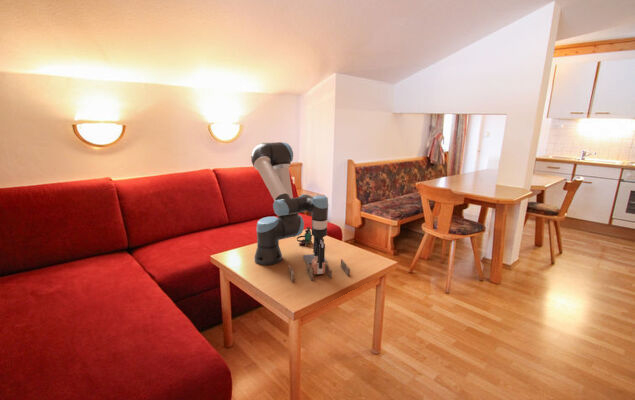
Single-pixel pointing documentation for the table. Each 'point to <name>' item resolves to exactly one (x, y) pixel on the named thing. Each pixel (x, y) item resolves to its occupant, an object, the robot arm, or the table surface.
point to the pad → (310, 258)
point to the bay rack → (327, 269)
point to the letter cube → (314, 266)
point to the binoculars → (306, 238)
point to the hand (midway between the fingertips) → (318, 270)
